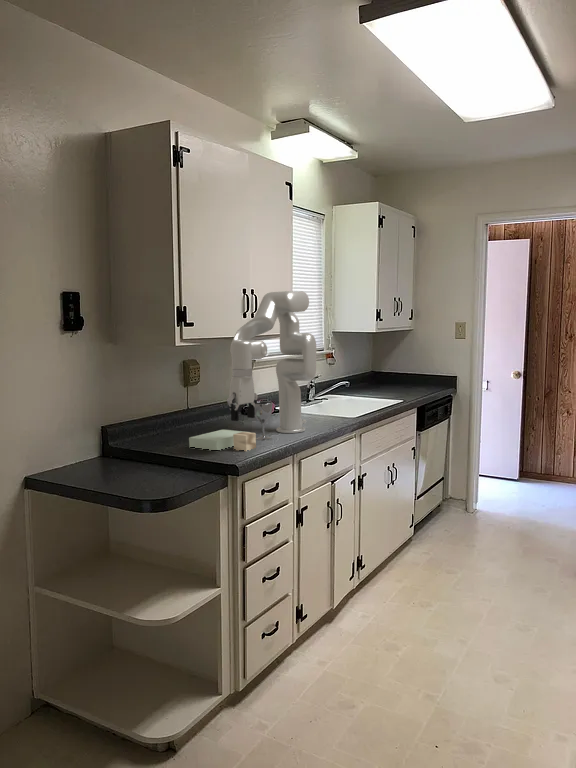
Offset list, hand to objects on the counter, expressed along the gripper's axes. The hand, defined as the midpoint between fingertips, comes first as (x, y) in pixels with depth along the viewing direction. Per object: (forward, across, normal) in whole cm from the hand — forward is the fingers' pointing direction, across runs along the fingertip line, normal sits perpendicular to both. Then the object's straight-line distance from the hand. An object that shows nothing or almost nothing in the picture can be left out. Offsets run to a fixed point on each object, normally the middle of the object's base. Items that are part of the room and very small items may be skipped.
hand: (243, 419), depth 235 cm
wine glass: (+11, -21, -6) cm, 24 cm away
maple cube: (+12, -1, 0) cm, 12 cm away
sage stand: (+11, -3, -14) cm, 18 cm away
